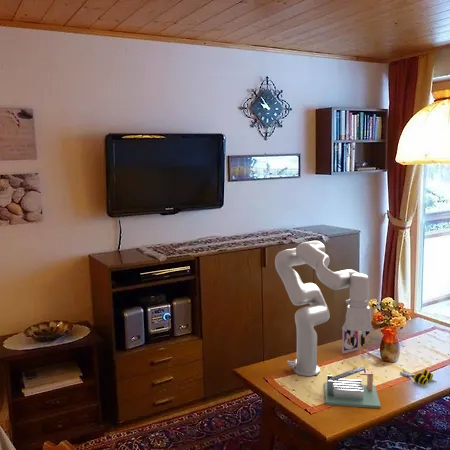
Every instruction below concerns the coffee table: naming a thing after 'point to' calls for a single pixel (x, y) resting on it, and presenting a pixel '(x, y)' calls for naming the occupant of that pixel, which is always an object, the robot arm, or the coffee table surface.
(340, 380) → the heatsink
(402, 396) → the coffee table surface
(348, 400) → the circuit board
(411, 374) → the pliers
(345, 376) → the strap
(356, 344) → the greeting card
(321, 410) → the coffee table surface
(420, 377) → the opera glasses
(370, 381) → the bracket
